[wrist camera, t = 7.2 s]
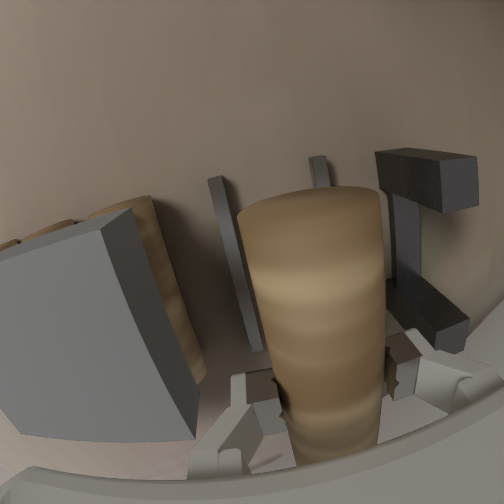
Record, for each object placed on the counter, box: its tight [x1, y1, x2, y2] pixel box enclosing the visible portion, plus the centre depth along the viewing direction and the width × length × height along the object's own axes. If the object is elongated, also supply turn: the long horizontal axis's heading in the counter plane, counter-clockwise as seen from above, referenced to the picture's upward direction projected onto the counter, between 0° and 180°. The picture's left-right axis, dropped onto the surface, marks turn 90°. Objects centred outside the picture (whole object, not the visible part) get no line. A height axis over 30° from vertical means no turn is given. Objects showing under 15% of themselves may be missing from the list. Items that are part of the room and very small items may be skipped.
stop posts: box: [375, 148, 479, 354], centre depth 17 cm, size 11×2×7 cm, turn 12°
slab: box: [0, 207, 200, 443], centre depth 15 cm, size 12×14×4 cm
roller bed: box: [0, 155, 331, 385], centre depth 18 cm, size 12×25×4 cm, turn 102°
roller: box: [237, 186, 386, 466], centre depth 10 cm, size 12×4×4 cm, turn 12°
